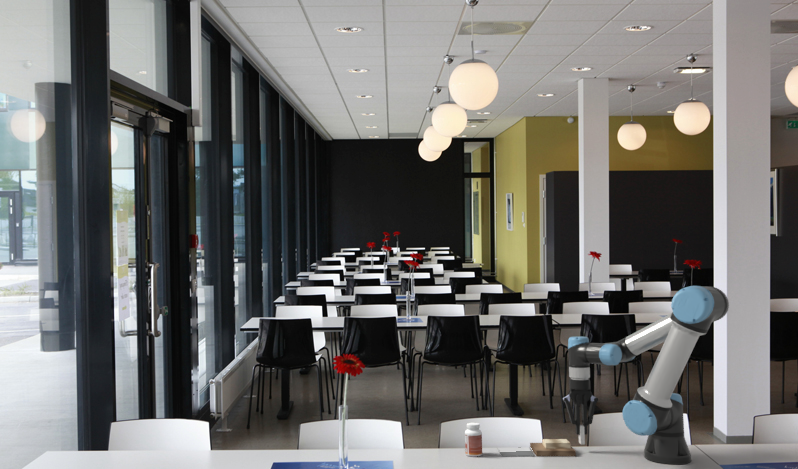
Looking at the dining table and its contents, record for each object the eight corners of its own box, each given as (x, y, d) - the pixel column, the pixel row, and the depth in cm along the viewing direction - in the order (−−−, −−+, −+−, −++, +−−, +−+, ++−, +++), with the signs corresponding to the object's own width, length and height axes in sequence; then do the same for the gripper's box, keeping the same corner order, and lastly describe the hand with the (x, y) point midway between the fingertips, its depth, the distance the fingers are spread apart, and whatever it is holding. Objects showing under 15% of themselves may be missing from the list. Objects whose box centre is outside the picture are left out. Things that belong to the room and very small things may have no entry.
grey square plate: (528, 448, 230) (528, 447, 230) (535, 456, 218) (535, 455, 218) (497, 448, 230) (497, 447, 230) (501, 456, 218) (501, 455, 218)
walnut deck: (567, 448, 230) (567, 442, 230) (575, 456, 218) (575, 450, 218) (530, 448, 230) (530, 442, 230) (536, 456, 218) (536, 450, 218)
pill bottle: (485, 454, 221) (485, 423, 222) (475, 458, 217) (474, 426, 218) (472, 451, 225) (472, 421, 227) (461, 455, 221) (461, 423, 222)
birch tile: (566, 444, 227) (566, 439, 227) (570, 448, 221) (570, 442, 221) (542, 444, 227) (542, 439, 227) (545, 448, 221) (545, 442, 222)
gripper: (594, 377, 230) (596, 441, 228) (559, 377, 230) (561, 441, 228) (600, 379, 223) (602, 445, 220) (564, 379, 223) (566, 446, 221)
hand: (581, 443), depth 224 cm, fingers closed
